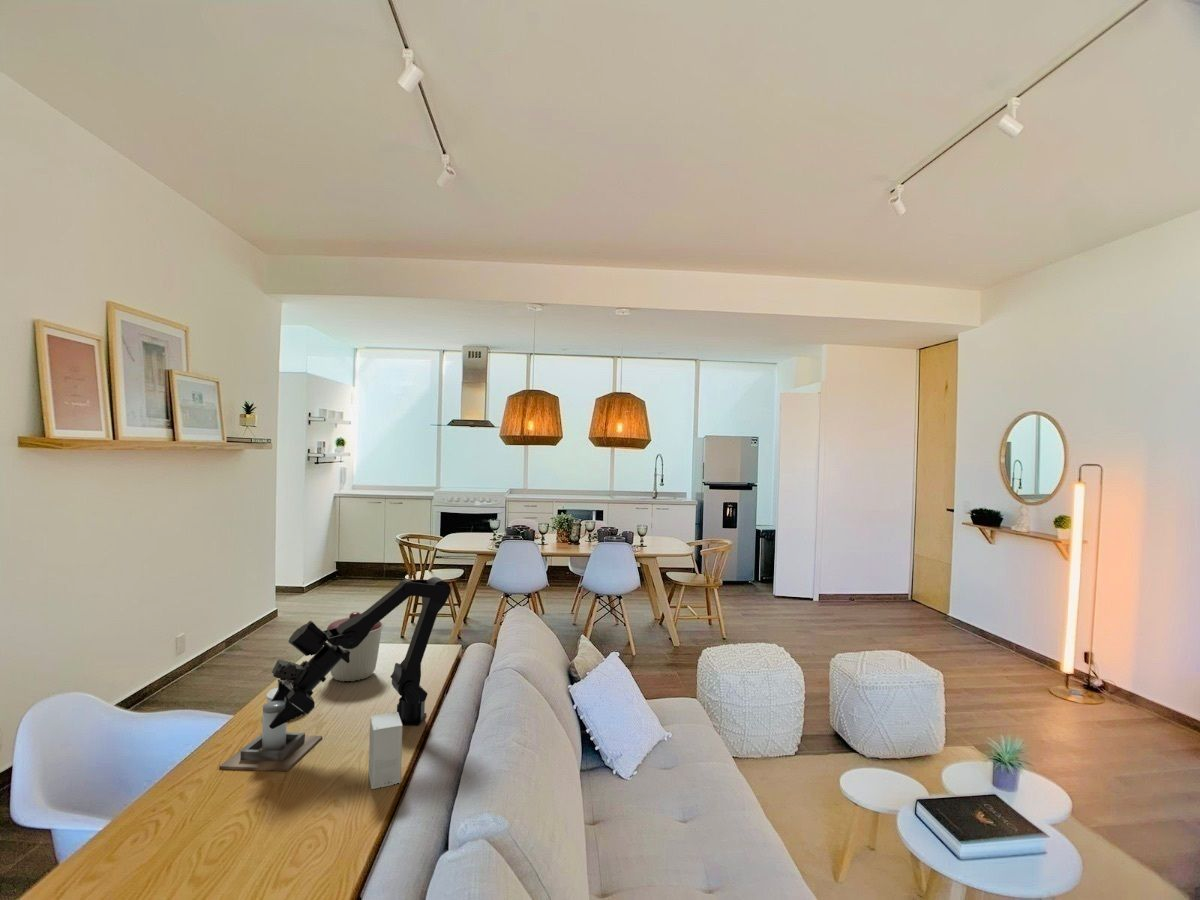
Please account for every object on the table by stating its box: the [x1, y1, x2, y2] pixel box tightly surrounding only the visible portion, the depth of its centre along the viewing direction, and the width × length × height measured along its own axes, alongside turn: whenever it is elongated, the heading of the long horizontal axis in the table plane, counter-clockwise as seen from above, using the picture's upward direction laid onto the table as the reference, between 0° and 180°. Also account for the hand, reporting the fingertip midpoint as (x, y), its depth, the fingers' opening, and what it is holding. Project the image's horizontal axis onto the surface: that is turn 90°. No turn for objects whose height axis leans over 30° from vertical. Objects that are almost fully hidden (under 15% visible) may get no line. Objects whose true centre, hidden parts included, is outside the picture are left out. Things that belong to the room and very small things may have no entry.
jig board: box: [218, 731, 323, 772], centre depth 142 cm, size 16×16×3 cm
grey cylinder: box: [261, 700, 288, 751], centre depth 142 cm, size 5×5×11 cm
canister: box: [324, 611, 385, 682], centre depth 192 cm, size 18×18×21 cm
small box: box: [367, 711, 404, 790], centre depth 133 cm, size 8×6×13 cm
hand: (268, 720), depth 141 cm, fingers open, 9 cm apart
